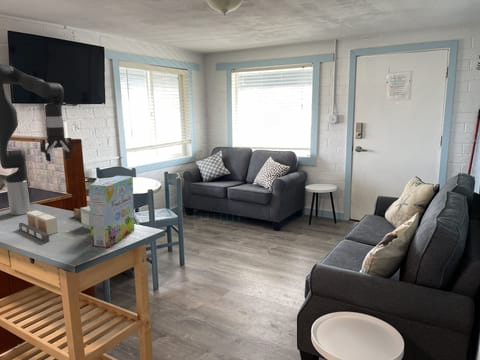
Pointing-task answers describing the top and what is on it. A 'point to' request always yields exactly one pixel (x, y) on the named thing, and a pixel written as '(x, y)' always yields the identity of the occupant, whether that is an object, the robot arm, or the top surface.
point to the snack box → (111, 210)
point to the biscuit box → (47, 224)
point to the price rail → (34, 232)
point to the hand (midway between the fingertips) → (58, 160)
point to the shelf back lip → (77, 213)
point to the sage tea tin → (86, 217)
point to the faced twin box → (33, 218)
